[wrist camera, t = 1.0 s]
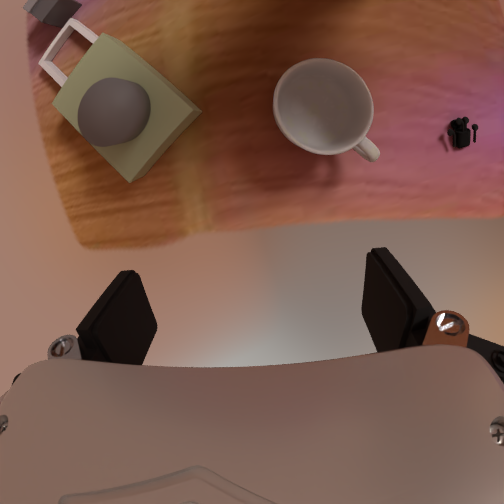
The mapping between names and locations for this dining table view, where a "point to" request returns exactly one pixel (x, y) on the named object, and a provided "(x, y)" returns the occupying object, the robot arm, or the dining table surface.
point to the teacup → (325, 108)
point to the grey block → (52, 10)
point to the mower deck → (161, 97)
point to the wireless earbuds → (462, 132)
